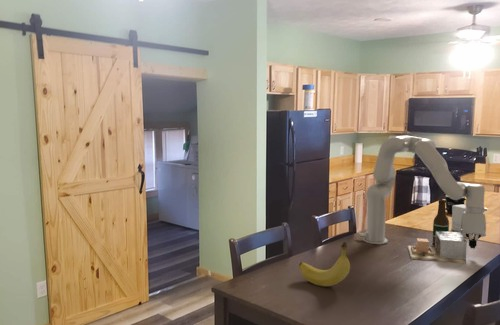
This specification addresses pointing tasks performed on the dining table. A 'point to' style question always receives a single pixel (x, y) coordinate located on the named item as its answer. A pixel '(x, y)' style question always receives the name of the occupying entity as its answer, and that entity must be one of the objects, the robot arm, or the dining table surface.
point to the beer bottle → (440, 220)
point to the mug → (452, 202)
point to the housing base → (430, 255)
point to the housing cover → (451, 245)
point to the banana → (327, 271)
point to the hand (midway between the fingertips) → (472, 247)
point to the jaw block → (422, 245)
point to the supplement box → (457, 216)
